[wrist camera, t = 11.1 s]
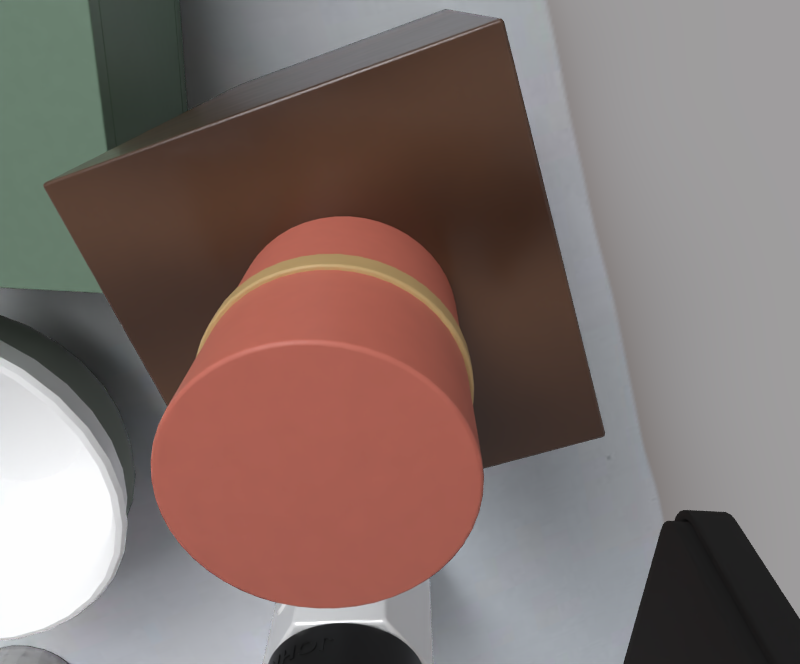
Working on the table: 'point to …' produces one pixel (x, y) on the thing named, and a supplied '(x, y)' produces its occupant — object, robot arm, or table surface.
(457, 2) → the table surface
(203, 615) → the table surface
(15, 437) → the bowl
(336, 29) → the table surface
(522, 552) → the table surface
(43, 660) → the coffee cup
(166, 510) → the red cylinder
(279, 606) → the jar
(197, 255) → the block
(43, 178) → the cabinet
